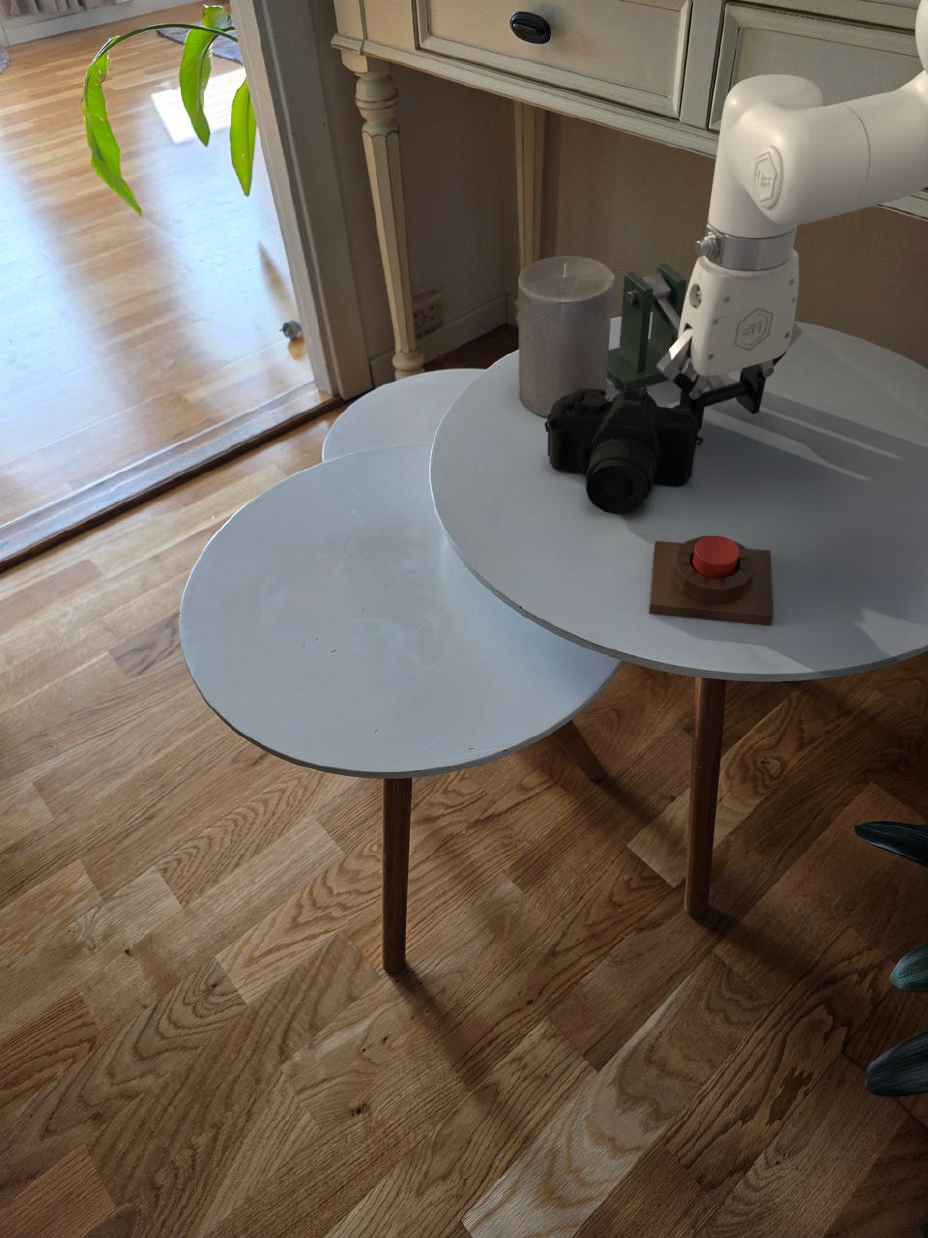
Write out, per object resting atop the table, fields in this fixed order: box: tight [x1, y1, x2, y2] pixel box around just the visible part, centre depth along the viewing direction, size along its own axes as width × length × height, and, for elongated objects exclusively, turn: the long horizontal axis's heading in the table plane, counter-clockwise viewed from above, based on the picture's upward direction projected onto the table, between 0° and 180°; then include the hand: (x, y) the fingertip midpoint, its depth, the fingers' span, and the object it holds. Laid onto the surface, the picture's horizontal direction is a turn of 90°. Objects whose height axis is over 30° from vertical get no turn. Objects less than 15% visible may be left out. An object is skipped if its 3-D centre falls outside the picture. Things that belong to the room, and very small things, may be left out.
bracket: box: [607, 262, 697, 393], centre depth 96 cm, size 7×10×11 cm
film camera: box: [544, 385, 705, 516], centre depth 83 cm, size 15×10×9 cm, turn 73°
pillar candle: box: [517, 255, 616, 418], centre depth 92 cm, size 10×10×15 cm
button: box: [693, 535, 739, 579], centre depth 73 cm, size 4×4×2 cm
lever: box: [640, 272, 752, 408], centre depth 91 cm, size 17×6×2 cm, turn 22°
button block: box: [648, 534, 775, 626], centre depth 75 cm, size 10×8×3 cm
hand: (718, 414), depth 89 cm, fingers closed on lever, 6 cm apart
